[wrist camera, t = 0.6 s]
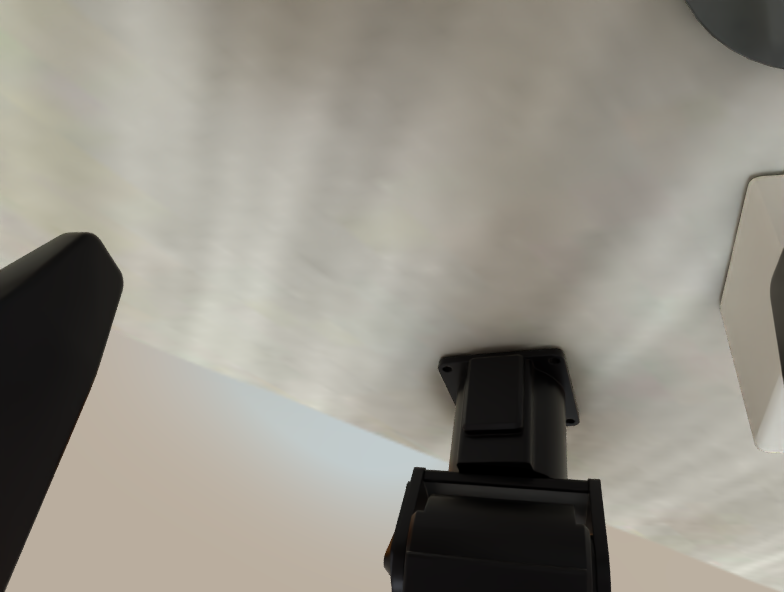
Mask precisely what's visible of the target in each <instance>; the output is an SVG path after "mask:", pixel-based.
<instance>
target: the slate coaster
mask: <svg viewBox="0 0 784 592" xmlns="http://www.w3.org/2000/svg"><path fill="white" fill-rule="evenodd" d="M685 2H686V4H687V5H688V7H689V8H690V10H691V11H692V13H693V14H694V16H695V17H696V19H697V20H698V21H699V22H700V24H701V25H702V26H703V27H704V28H705V29H706V30H707V31H708V32H709V33H710V34H711V35H712V36H713V37H714V38H716V39H717V40H718V41H720V42H721V43H722V44H724V45H725V46H726V47H728V48H729V49H730V50H732V51H734V52H736V53H738V54H740V55H742V56H744V57H746V58H748V59H750V60H753V61H755V62H758V63H761V64H764V65H767V66H770V67H775V68H780V69H784V0H685Z"/></svg>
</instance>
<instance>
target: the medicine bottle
mask: <svg viewBox="0 0 784 592" xmlns="http://www.w3.org/2000/svg"><path fill="white" fill-rule="evenodd" d="M783 248H784V175H773V176H760V177H756V178H754V179H752V180H751V181H750V183H749V184H748V188H747V192H746V197H745V201H744V205H743V210H742V214H741V218H740V223H739V227H738V231H737V235H736V240H735V244H734V248H733V253H732V257H731V261H730V266H729V270H728V274H727V279H726V283H725V287H724V292H723V296H722V300H721V304H720V312H721V315H722V319H723V323H724V327H725V331H726V335H727V338H728V342H729V346H730V350H731V354H732V358H733V362H734V365H735V369H736V373H737V377H738V381H739V385H740V389H741V392H742V396H743V400H744V404H745V408H746V412H747V416H748V419H749V423H750V427H751V431H752V435H753V439H754V443H755V445H756V447H757V448H758V449H759V450H761V451H763V452H767V453H784V384H783V377H782V371H781V365H780V358H779V352H778V345H777V339H776V332H775V326H774V319H773V313H772V306H771V300H770V283H771V278H772V275H773V273H774V270H775V268H776V265H777V263H778V260H779V258H780V255H781V253H782V250H783Z"/></svg>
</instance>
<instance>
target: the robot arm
mask: <svg viewBox="0 0 784 592" xmlns="http://www.w3.org/2000/svg"><path fill="white" fill-rule="evenodd" d="M122 290H123V277H122V273H121V271H120V270H119V268H118V267H117V265H116V263H115V262H114V260H113V259H112V257H111V256H110V254H109V253H108V251H107V249H106V248H105V246H104V245H103V243H102V242H101V240H100V239H99V238H98V237H97V236H96V235H94V234H92V233H89V232H70V233H64V234H62V235H60V236H58V237H56V238H54V239H53V240H51V241H49V242H48V243H46V244H44V245H42V246H41V247H39V248H37V249H35V250H34V251H32V252H30V253H29V254H27V255H25V256H23V257H22V258H20V259H18V260H16V261H15V262H13V263H11V264H9V265H8V266H6V267H4V268H3V269H1V270H0V592H5V590H6V587H7V585H8V582H9V580H10V578H11V576H12V573H13V571H14V568H15V566H16V564H17V561H18V559H19V556H20V554H21V552H22V550H23V547H24V545H25V542H26V540H27V538H28V536H29V533H30V531H31V529H32V526H33V524H34V521H35V519H36V517H37V514H38V512H39V510H40V507H41V505H42V503H43V500H44V498H45V495H46V493H47V491H48V488H49V486H50V484H51V481H52V479H53V477H54V474H55V472H56V470H57V467H58V465H59V462H60V460H61V458H62V456H63V453H64V451H65V449H66V446H67V444H68V442H69V439H70V437H71V434H72V432H73V430H74V427H75V425H76V423H77V420H78V418H79V416H80V413H81V411H82V409H83V406H84V404H85V401H86V399H87V397H88V394H89V392H90V390H91V387H92V384H93V382H94V379H95V377H96V374H97V371H98V368H99V365H100V362H101V358H102V356H103V352H104V349H105V346H106V342H107V339H108V336H109V333H110V330H111V326H112V323H113V320H114V317H115V313H116V310H117V307H118V304H119V300H120V297H121V294H122ZM770 300H771V306H772V313H773V319H774V326H775V332H776V339H777V345H778V352H779V358H780V365H781V371H782V377H783V384H784V248H783V250H782V253H781V255H780V258H779V260H778V263H777V265H776V268H775V270H774V273H773V275H772V278H771V283H770ZM438 370H439V372H440V374H441V376H442V378H443V381H444V383H445V385H446V387H447V389H448V391H449V393H450V395H451V397H452V399H453V401H454V403H455V406H456V408H455V417H454V426H453V435H452V444H451V453H450V462H449V471H439V470H426V468H422V467H414V470H413V474H412V477H411V481H410V482H409V481H408V483H407V486H406V491H405V495H404V498H403V502H402V506H401V510H400V513H399V517H398V521H397V525H396V529H395V532H394V534H393V537H392V539H391V541H390V544H389V546H388V548H387V551H386V553H385V556H384V568H385V569H386V570H387V572H388V573H389V575H390V576H391V586H392V592H611V580H610V565H609V564H610V563H609V552H608V544H607V535H606V526H605V517H604V508H603V500H602V491H601V482H600V479H588V481H586V480H571V479H567V445H566V426H575V425H577V424H578V423H579V412H578V408H577V404H576V399H575V395H574V391H573V387H572V383H571V379H570V375H569V371H568V367H567V362H566V358H565V354H564V352H563V351H561V350H559V349H543V350H530V351H518V352H506V353H494V354H482V355H469V356H457V357H445V358H442V359H440V361H439V365H438Z"/></svg>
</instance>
